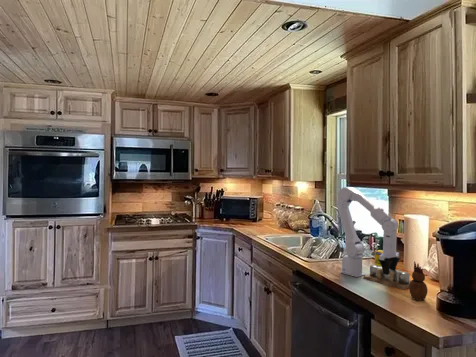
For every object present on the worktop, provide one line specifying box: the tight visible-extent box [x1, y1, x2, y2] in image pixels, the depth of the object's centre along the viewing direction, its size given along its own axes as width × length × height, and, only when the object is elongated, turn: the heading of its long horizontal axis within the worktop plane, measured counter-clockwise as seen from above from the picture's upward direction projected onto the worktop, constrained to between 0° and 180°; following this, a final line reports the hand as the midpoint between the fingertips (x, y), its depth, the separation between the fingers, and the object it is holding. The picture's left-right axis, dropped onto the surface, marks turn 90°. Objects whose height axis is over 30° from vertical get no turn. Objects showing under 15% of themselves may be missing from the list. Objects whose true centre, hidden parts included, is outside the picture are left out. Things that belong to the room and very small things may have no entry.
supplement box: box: [374, 249, 383, 267], centre depth 182 cm, size 6×6×11 cm
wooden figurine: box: [408, 261, 428, 302], centre depth 142 cm, size 7×6×15 cm
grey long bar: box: [369, 264, 411, 285], centre depth 165 cm, size 19×5×4 cm, turn 38°
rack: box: [362, 268, 412, 290], centre depth 165 cm, size 20×11×6 cm, turn 38°
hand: (388, 273), depth 165 cm, fingers open, 5 cm apart
